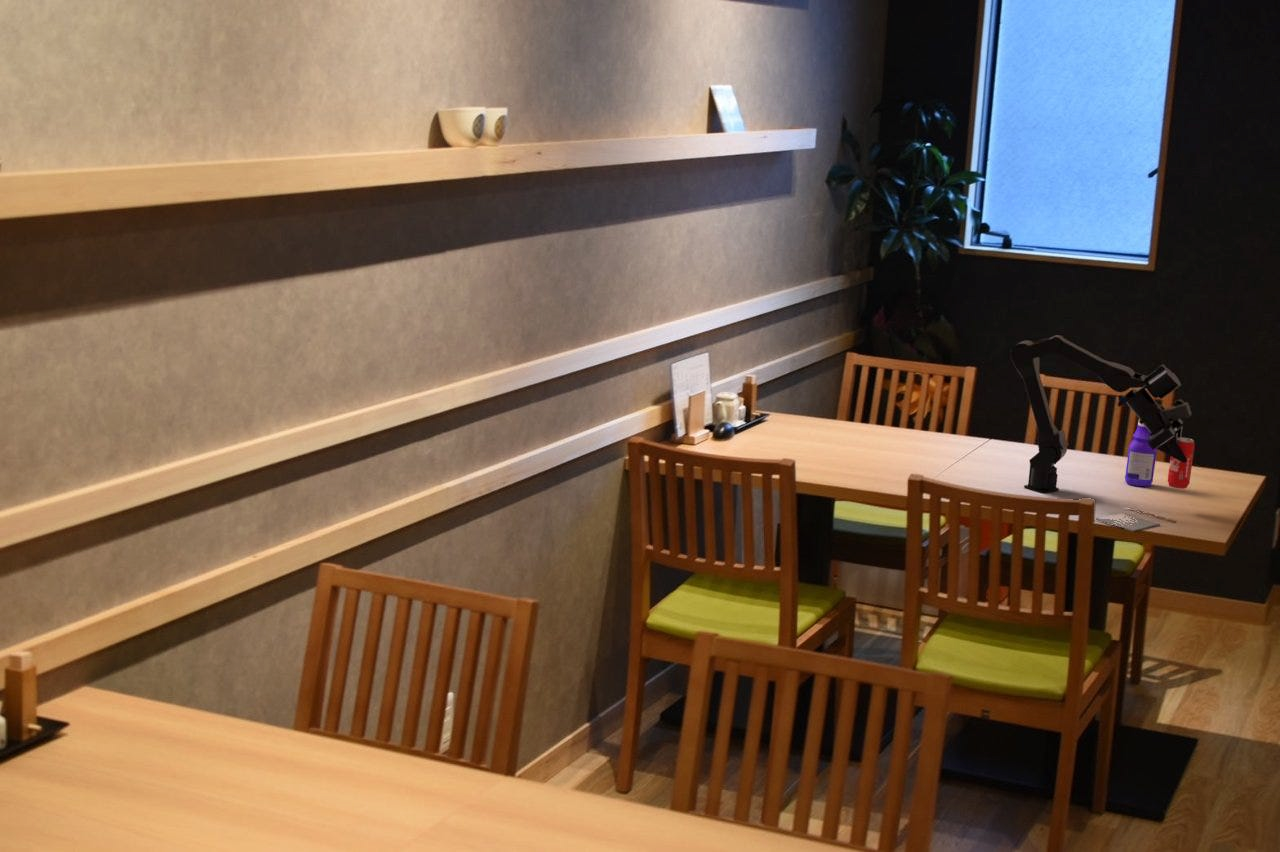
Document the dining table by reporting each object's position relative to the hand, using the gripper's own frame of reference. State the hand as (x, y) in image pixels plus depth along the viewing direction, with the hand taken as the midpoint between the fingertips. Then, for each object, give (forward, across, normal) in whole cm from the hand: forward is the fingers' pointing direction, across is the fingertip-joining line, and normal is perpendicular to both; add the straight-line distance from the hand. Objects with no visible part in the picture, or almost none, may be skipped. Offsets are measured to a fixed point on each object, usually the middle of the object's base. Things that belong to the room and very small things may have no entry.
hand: (1187, 459), depth 379 cm
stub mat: (+2, -20, +16) cm, 26 cm away
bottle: (0, +21, +19) cm, 28 cm away
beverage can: (+4, 0, +6) cm, 7 cm away
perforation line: (+5, -9, +14) cm, 17 cm away
